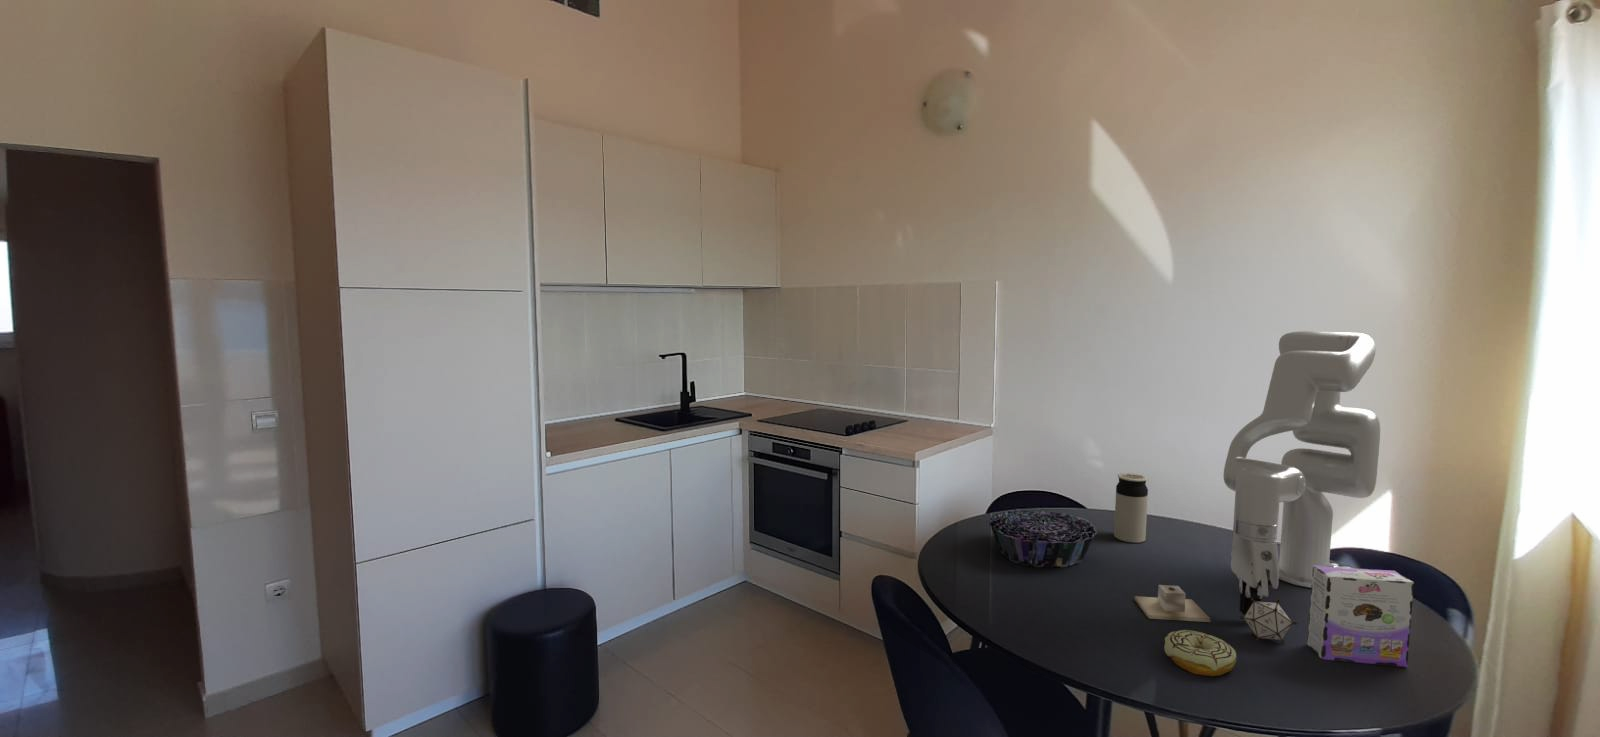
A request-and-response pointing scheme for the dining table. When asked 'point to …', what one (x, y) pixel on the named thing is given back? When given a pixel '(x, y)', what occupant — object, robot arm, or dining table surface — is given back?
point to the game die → (1268, 620)
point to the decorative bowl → (1042, 537)
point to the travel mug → (1131, 508)
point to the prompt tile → (1171, 615)
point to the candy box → (1360, 615)
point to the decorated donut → (1200, 652)
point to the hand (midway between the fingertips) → (1249, 613)
